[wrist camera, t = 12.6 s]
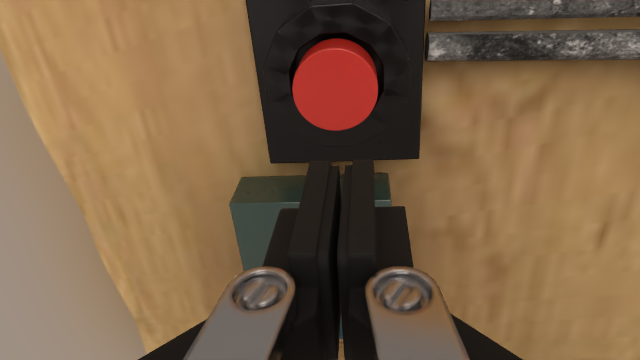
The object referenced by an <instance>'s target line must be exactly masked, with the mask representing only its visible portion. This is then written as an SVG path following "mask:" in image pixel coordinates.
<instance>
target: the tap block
mask: <svg viewBox="0 0 640 360" xmlns="http://www.w3.org/2000/svg"><path fill="white" fill-rule="evenodd" d="M306 176H307V175H306ZM306 176H272V177H242V178H241V180H240V182H239V184H238V186H237V188H236V191H235V193H234V195H233V197H232V199H231V201H230V204H229V205H230V209H231V214H232V219H233V223H234V228H235V232H236V237H237V241H238V246H239V251H240V255H241V260H242V264H243V269H244V272H245V271H247V270H250V269H253V268H257V267H262V266H263V263H264V260H265V256H266V253H267V250H268V247H269V244H270V240H271V237H272V234H273V231H274V227H275V224H276V221H277V218H278V215H279V212H280V210H281V209H282V208H299V205H300V201H301V197H302V193H303V189H304V184H305V180H306ZM343 182H344V174H340V185H341V200H342V193H343ZM374 196H375V207H391V193H390V184H389V175H388V173H375V174H374ZM237 276H238V275H235V277H237ZM339 338H343V331H342V318H341V321H340V336H339Z"/></svg>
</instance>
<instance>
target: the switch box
mask: <svg viewBox="0 0 640 360" xmlns="http://www.w3.org/2000/svg"><path fill="white" fill-rule="evenodd" d="M246 6H247V12H248V19H249V25H250V32H251V39H252V45H253V52H254V58H255V65H256V71H257V78H258V84H259V91H260V97H261V104H262V111H263V117H264V124H265V130H266V137H267V143H268V150H269V156H270V162H271V163H303V162H310V161H331V162H334V161H353V160H365V159H373V160H396V159H419V151H420V125H421V100H422V74H423V49H424V23H425V0H246ZM333 38H340V39H346V40H350V41H352V42H355V43H357V44H358V45H360V46H361V47H362V48H364V49H365V50H366V51H367V52H368V54H369V55H370V56H371V58H372V60H373V62H374V64H375V67H376V72H377V81H378V96H377V101H376V104H375V106H374V108H373V110H372V112H371V113H370V114H369V116H368V117H367V118H366V119H365V120H364V121H362V122H361V123H359V124H358V125H356V126H354V127H352V128H349V129H345V130H338V131H332V130H326V129H322V128H319V127H317V126H315V125H313V124H312V123H310V122H309V121H307V120H306V119H305V118H304V117H303V116H302V114H301V113H300V112H299V110H298V109H297V106H296V104H295V102H294V98H293V92H292V86H293V79H294V76H295V73H296V71H297V68H298V66H299V64H300V61H301V59H302V58H303V56H304V55H305V53H306V52H307V51H308V50H309V49H310V48H311V47H312V46H314V45H315V44H317V43H319V42H321V41H324V40H327V39H333Z"/></svg>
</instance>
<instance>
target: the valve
mask: <svg viewBox="0 0 640 360" xmlns="http://www.w3.org/2000/svg"><path fill="white" fill-rule="evenodd" d="M597 17H640V0H430V8H429V21H454V20H501V19H549V18H597ZM425 59H426V61H508V60H640V29H618V30H552V31H486V32H428V33H427V35H426V41H425Z"/></svg>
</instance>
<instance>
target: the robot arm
mask: <svg viewBox="0 0 640 360" xmlns="http://www.w3.org/2000/svg"><path fill="white" fill-rule="evenodd" d="M341 318H342V331H343V344H344V357H345V360H522V359H521V358H519V357H518V356H516V355H514V354H513V353H511V352H510V351H508V350H507V349H505V348H503V347H502V346H500V345H499V344H497V343H496V342H494V341H493V340H491V339H489V338H488V337H486V336H485V335H483V334H482V333H480V332H478V331H477V330H475V329H474V328H472V327H471V326H469V325H468V324H466V323H464V322H463V321H461V320H460V319H458V318H457V317H455V316H453V315H452V314H450V312H449V310H448V307H447V305H446V302H445V300H444V298H443V295H442V293H441V291H440V288H439V286H438V285H437V283H436V282H435V280H434V279H433V278H432V277H430V276H429V275H428V274H427V273H425V272H422V271H420V270H418V269H415V268H413V262H412V255H411V248H410V240H409V233H408V226H407V219H406V212H405V207H404V206H395V207H375V196H374V163H373V159H365V160H353V165H345V171H344V182H343V193H342V200H341V185H340V170H339V166H332V163H331V161H310V164H309V168H308V172H307V176H306V180H305V184H304V189H303V193H302V197H301V201H300V205H299V208H282V209H281V210H280V212H279V215H278V218H277V221H276V224H275V227H274V231H273V234H272V237H271V240H270V244H269V247H268V250H267V253H266V256H265V260H264V263H263V266H262V267H257V268H253V269H250V270H247V271H245V272H243V273H241V274H239V275H238V276H237V277H235V278H234V279H233V280H232V281H231V282H230V283H229V285H228V286H227V287H226V289H225V291H224V292H223V294H222V296H221V297H220V299H219V301H218V302H217V304H216V306H215V307H214V309H213V311H212V312H211V314H210V315H209V317H208V319H206V320H205V321H203V322H201V323H200V324H198V325H196V326H194V327H193V328H191V329H189V330H188V331H186V332H184V333H183V334H181V335H179V336H177V337H176V338H174V339H172V340H171V341H169V342H167V343H166V344H164V345H162V346H160V347H159V348H157V349H155V350H154V351H152V352H150V353H149V354H147V355H145V356H143V357H142V358H140V359H138V360H338V351H339V336H340V321H341Z"/></svg>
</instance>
